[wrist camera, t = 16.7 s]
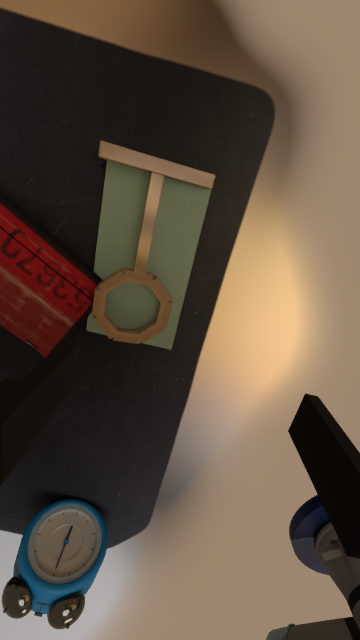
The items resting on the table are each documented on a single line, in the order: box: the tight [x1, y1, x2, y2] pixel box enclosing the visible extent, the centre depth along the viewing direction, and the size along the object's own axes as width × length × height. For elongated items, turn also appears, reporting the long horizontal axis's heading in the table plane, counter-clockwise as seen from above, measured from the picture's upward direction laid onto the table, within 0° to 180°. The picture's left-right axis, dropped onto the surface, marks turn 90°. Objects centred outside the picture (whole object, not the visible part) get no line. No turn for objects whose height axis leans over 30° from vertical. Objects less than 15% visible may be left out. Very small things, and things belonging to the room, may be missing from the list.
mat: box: [86, 160, 211, 350], centre depth 34 cm, size 22×12×1 cm, turn 167°
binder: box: [0, 192, 102, 368], centre depth 35 cm, size 16×2×21 cm
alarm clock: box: [2, 496, 108, 629], centre depth 43 cm, size 13×6×15 cm, turn 69°
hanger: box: [92, 141, 215, 344], centre depth 32 cm, size 21×12×1 cm, turn 166°
